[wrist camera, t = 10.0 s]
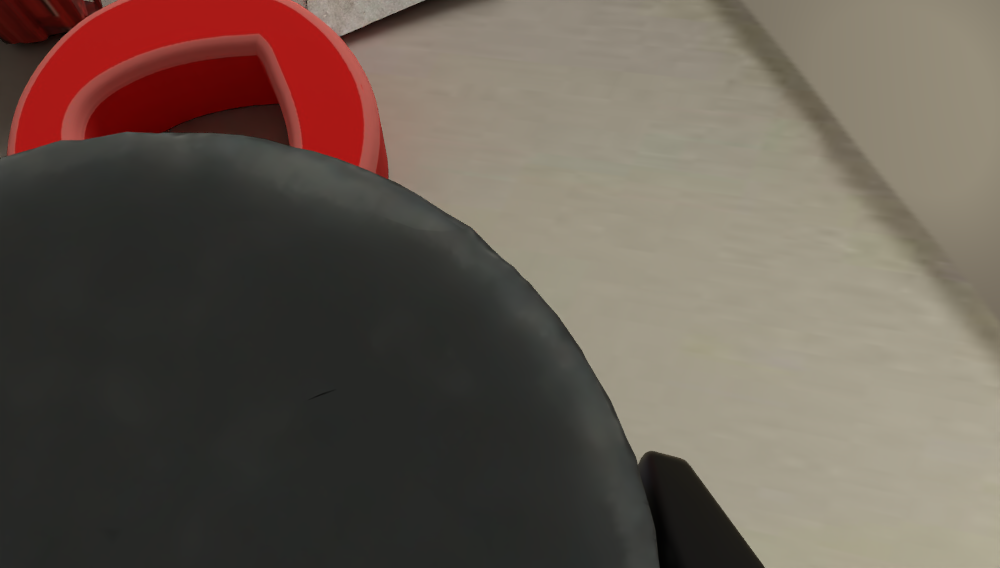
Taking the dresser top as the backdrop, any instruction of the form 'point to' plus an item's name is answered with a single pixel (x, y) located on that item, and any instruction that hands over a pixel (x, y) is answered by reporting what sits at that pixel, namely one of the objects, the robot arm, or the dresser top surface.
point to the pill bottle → (285, 374)
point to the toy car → (41, 18)
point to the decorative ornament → (202, 76)
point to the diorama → (355, 12)
